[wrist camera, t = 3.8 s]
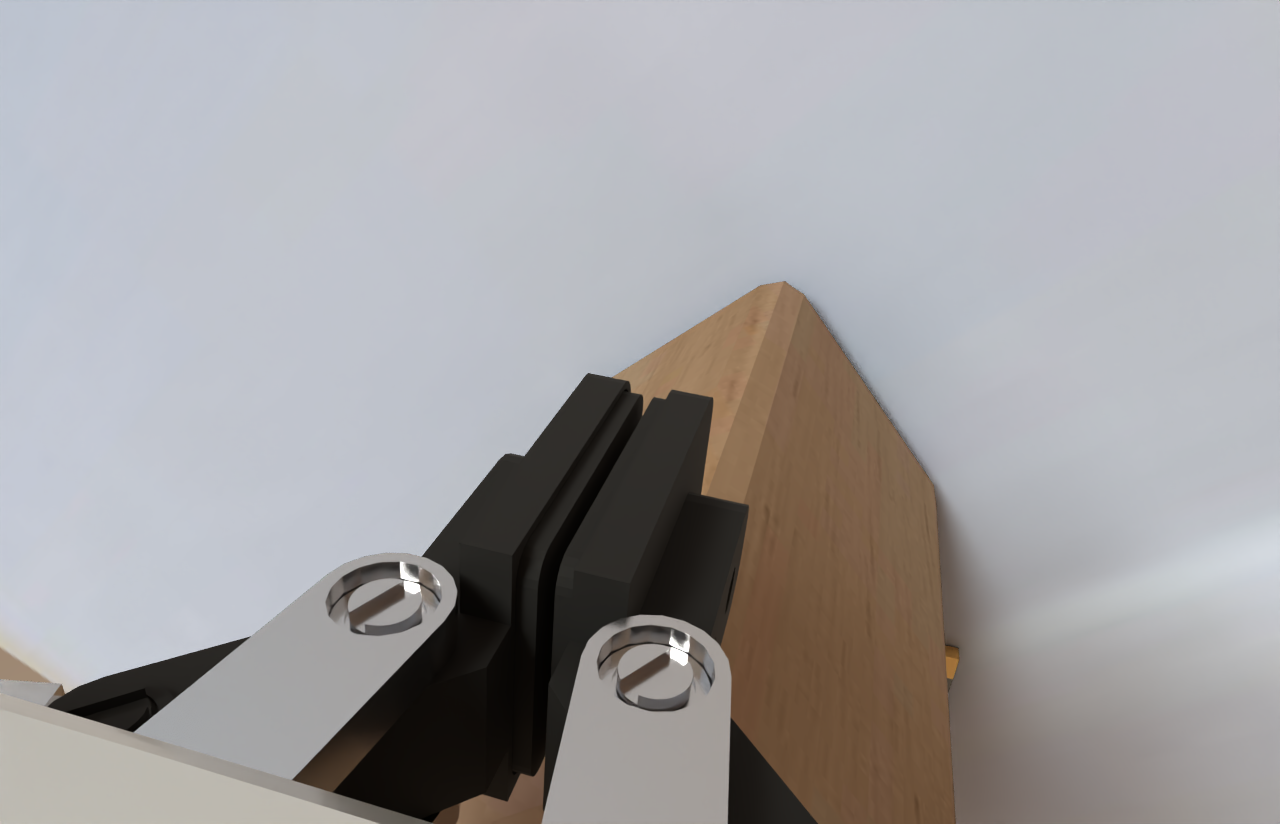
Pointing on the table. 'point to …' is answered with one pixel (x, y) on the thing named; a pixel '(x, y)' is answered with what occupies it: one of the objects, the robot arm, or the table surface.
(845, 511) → the block
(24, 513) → the table surface
